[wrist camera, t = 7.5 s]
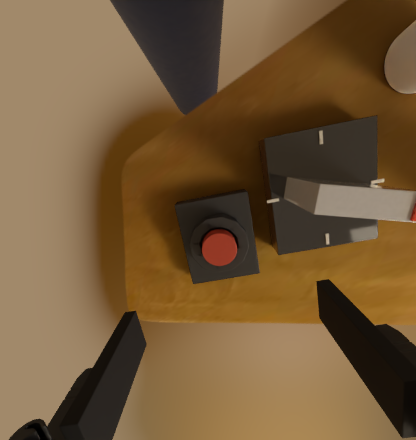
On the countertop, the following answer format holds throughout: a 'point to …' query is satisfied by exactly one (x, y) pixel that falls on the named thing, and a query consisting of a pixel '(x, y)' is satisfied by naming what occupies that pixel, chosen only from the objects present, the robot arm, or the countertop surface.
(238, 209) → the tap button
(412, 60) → the cup
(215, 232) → the button
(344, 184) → the upright gray tile
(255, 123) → the countertop surface
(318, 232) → the dark gray dial base
